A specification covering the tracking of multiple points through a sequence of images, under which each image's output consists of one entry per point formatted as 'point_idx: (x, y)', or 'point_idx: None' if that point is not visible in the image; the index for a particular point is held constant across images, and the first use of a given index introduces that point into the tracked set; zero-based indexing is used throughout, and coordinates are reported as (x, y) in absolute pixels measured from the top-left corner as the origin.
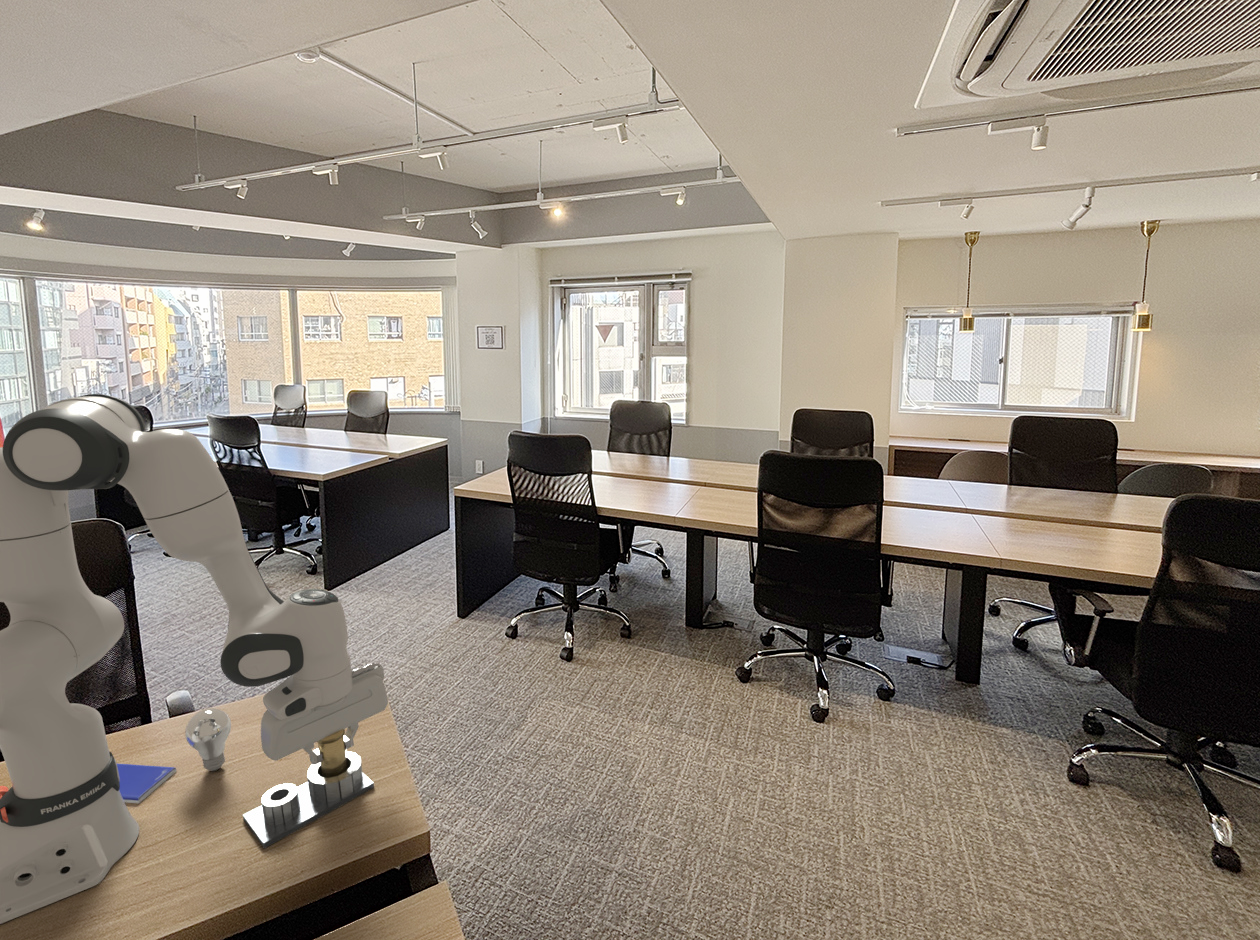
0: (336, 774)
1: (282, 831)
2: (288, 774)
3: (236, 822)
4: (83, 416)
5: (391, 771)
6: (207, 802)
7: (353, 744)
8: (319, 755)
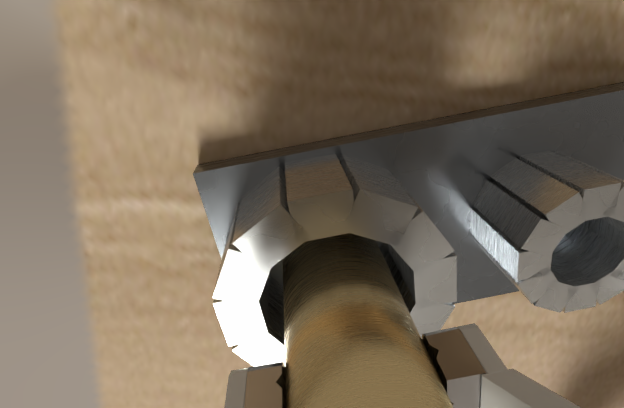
0: (346, 250)
1: (579, 104)
2: None
3: None
4: None
5: (113, 219)
6: (613, 372)
7: (230, 377)
8: (461, 368)
